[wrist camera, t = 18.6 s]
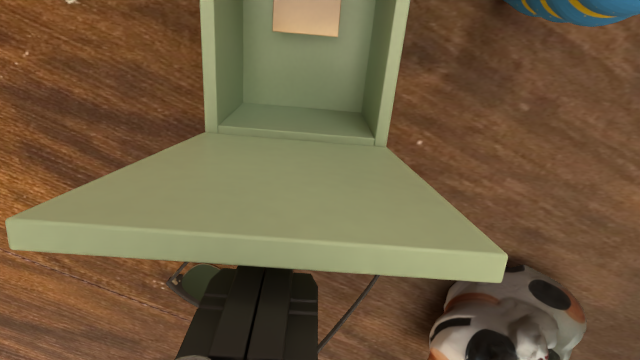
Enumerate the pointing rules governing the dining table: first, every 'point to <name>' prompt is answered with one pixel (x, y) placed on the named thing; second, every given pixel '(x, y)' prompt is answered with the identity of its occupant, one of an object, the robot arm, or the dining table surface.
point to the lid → (266, 212)
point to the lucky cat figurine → (508, 319)
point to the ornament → (579, 10)
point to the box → (301, 73)
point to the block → (307, 17)
